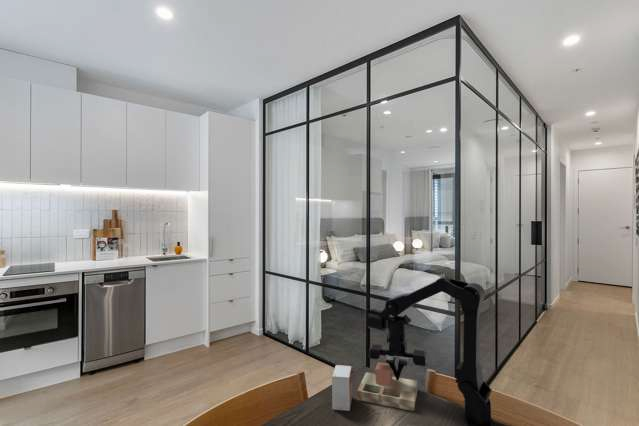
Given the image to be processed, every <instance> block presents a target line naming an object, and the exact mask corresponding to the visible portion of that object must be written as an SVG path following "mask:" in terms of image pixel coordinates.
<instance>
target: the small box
mask: <svg viewBox="0 0 639 426" xmlns="http://www.w3.org/2000/svg"><path fill="white" fill-rule="evenodd" d="M333 369H334V370H333V373H332V375H331V384H332V385H331V392H332V393H331V395H332V398H331V402H332V407H331V408H332V410H336V411H346V412H350V411H351V405H352V401H353V400H352V399H353V379H352V378H353V371H352V369H353V366H352V365H351V366H350V365H341V364H336V365H335V367H334V368H333Z"/></svg>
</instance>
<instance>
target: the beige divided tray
mask: <svg viewBox="0 0 639 426" xmlns="http://www.w3.org/2000/svg"><path fill="white" fill-rule="evenodd" d="M356 396H357V397H356V399H357V401H361V402H366V403H367V402H368V403H372V404H376V405H383V406H387V407H392V408H397V409H402V410H407V411H412V412H414V411H415V409H416V400H417V396H418V380H416V379H415V380H414V379H407V378H404V377H399V380H396V377H395V376H393V379H392V382H391V386H387V385H382V384H376V377H375V373H373V372H365V373H364V376H363V378H362V380H361V382H360V384H359V386H358V389H357V392H356Z"/></svg>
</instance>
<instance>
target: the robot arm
mask: <svg viewBox="0 0 639 426" xmlns="http://www.w3.org/2000/svg"><path fill="white" fill-rule="evenodd" d="M440 293H444V294H447V295H448V296H450V297H451V298H453V299H455V300H458V301H459V305H460V309H461V312H462V314H463V343H462V344H463V349H462V351H463V353H462V356H463V357H462V361H460V362H459V364H458V365H457V366H456V368H455V375H456V378H455V379H456V380H455V383H457V389H458V390H459V391H460V393H461V394H462V395H463V399H464V400H463V409H464V410H463V411H464V413H463V414H464V419H466V425H468V426H471V425H472V426H493V425H492V405H491V400H490V396H491V395H492V392H493V390H492V388H491V387H490V386H489V385H488V384H487V382H485V380H484V375H483V370H482V366H481V365H480V364H481V363H480V317H481V312H482V310H483V305H484V301H485V297H486V296H485V295H486V291H485V289H484V287H482V285H480V284H478V283H476V282H470V283H469V282H465V281H462V280H459V279H454V278H450V277H448V276H441V277H439V278H438V279H436V280H435V281H432V282H430V283H429V284H426V285H424V286H422V287H420V288H418V289H416V290H414V291H411V292H409V293H408V292H407V293H403V294H398V295H395V296H392V297H391V298H389V299H387V300H386V301H385V305H384V306H385V307H384V308H383V310H377V309H376V308H370V309H369V313H368V315H367V319H366V326H367V328H368V329H372V330H377V331H381V332H385V331H386V330H387V331H388V332H387V334H386V343H388V349H384V346H383V345H381V344H380V345H379V344H371V346H370V348H369V349H368V358H369V359H371V360H378V359H380V358H381V356H384V357H385V358H386V359H385V364H389V365H390V367H391V369H392V373H393V374H394V377H396V380H399V378H401V374H402V371H403V369H404V366H405V367H407V366H408V364H409V360H412V363H413V364H414V366H420V367H425V366H426V364H427V352H426V351H425V350H418V349H414V350H413V353H412V352H408V351H407V350H408V343H407V342H408V341H407V337H406V325H408V324H410V323H411V322H412V319H411V318H410V317H409V316H408V315H407V314H405V315H403V316H402V315H401V314H402V313H404V312H406V311H407V310H408V309H410V308H412V306H413V305H416V304H417V303H419V302H422V301H424V300H425V299H428V298H431V297H433V296H435V295H436V294H440ZM397 358H398V359H397ZM397 360H398V361H397Z"/></svg>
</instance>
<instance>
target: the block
mask: <svg viewBox="0 0 639 426" xmlns="http://www.w3.org/2000/svg"><path fill="white" fill-rule="evenodd" d="M374 369H375V373H374V374H375V377H376V384H382V385H387V386H391V382H392V379H393V377H394V376H393V374H394V373H393V370H392V369H391V367H390V365H389V364H388V363H386V362H385V363H384V362H377V363H376V367H375V368H374Z"/></svg>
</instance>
